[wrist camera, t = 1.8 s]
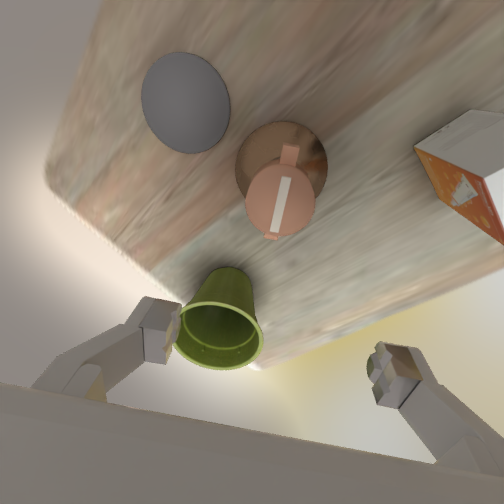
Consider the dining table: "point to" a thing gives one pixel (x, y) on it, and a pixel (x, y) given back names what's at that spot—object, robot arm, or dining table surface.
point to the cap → (280, 196)
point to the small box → (469, 168)
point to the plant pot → (221, 323)
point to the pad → (185, 102)
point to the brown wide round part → (269, 148)
